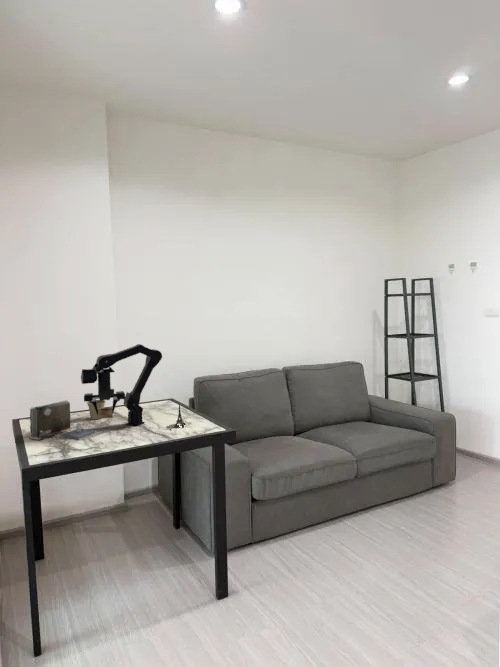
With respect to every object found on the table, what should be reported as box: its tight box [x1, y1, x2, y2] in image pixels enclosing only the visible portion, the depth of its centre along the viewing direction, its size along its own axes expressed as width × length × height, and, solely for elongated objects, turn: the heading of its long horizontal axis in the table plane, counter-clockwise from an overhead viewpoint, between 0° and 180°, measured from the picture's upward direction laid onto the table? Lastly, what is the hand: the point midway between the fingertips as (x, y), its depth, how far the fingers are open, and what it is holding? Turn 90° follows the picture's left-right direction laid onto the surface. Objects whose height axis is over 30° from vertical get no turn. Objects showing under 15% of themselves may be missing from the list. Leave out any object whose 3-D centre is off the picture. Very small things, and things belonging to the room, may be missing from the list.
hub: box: [62, 422, 96, 440], centre depth 219 cm, size 10×10×5 cm
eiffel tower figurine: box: [165, 401, 187, 429], centre depth 233 cm, size 15×10×13 cm
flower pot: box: [86, 399, 107, 420], centre depth 249 cm, size 9×9×9 cm
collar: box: [97, 407, 114, 420], centre depth 230 cm, size 7×7×4 cm
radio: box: [28, 399, 72, 441], centre depth 222 cm, size 23×9×15 cm, turn 153°
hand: (105, 413), depth 230 cm, fingers closed on collar, 7 cm apart
